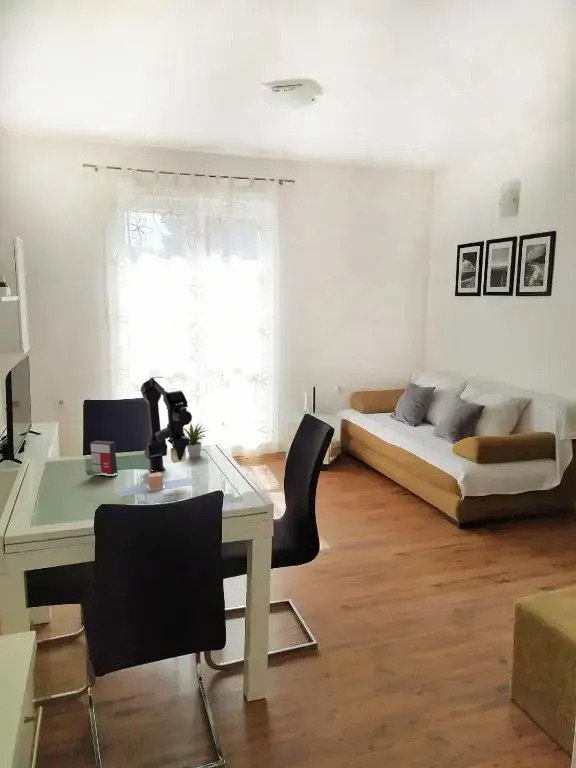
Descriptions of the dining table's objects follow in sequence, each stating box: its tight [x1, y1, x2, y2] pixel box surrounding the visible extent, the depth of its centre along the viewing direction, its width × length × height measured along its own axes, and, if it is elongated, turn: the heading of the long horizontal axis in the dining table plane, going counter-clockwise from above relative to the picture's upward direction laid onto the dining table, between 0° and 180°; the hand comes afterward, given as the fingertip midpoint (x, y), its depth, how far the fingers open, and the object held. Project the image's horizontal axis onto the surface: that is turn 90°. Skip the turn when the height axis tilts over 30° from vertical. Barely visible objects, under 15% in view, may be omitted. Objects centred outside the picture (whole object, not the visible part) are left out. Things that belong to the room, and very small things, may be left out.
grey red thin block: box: [89, 440, 118, 474], centre depth 256 cm, size 11×4×15 cm, turn 68°
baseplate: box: [116, 477, 196, 498], centre depth 236 cm, size 10×30×1 cm, turn 112°
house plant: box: [182, 423, 210, 458], centre depth 279 cm, size 14×14×16 cm
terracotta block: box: [147, 471, 164, 489], centre depth 236 cm, size 5×5×5 cm
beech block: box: [170, 447, 187, 464], centre depth 238 cm, size 5×5×5 cm
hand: (178, 458), depth 238 cm, fingers closed on beech block, 5 cm apart
